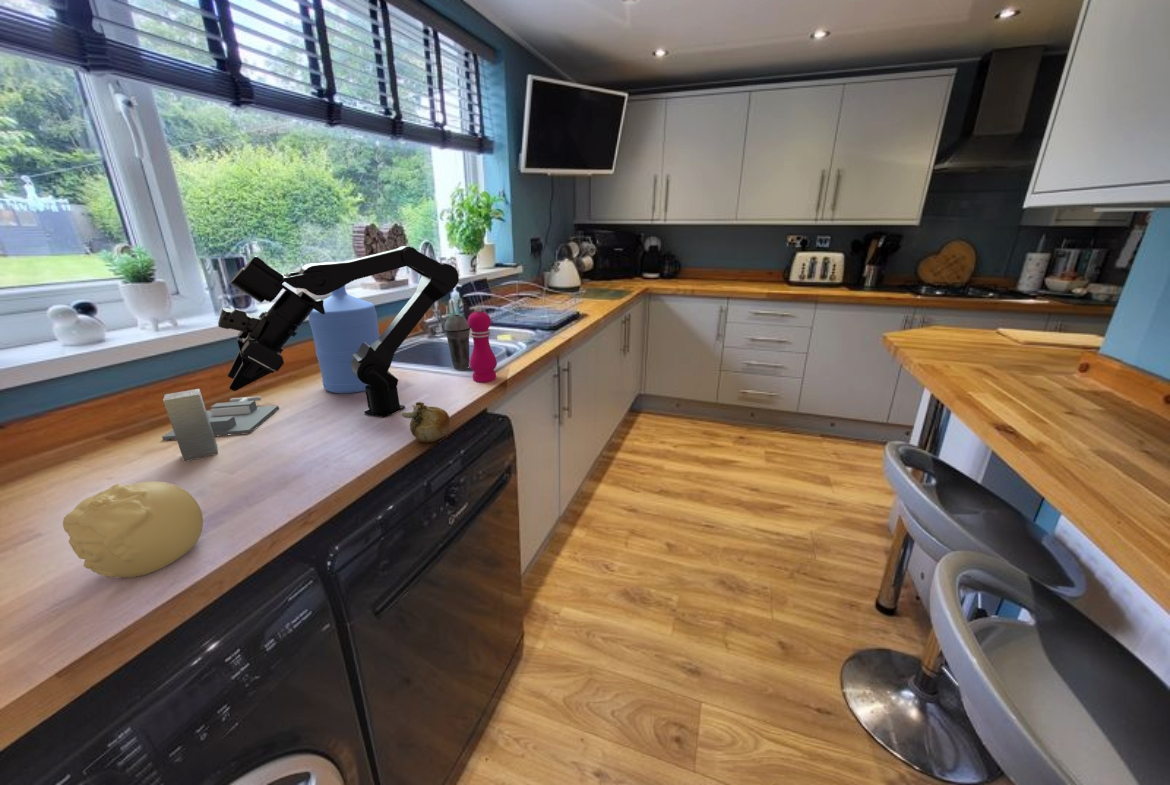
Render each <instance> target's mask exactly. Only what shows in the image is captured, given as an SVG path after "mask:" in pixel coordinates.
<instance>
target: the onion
mask: <svg viewBox="0 0 1170 785" xmlns="http://www.w3.org/2000/svg"><path fill="white" fill-rule="evenodd" d="M412 408H413V410H412V411H401V412H400V415H401V416H400V417H402V418H405V419H411V420H410V422H409V430H410V432H411V434H412V436H413V437H414V438H415V439H416V440H417V441H419V442H422V443H433V442H436V441H438V440H440V439H441V438H443V437H444V436H445V435H446V434H447V432H449V431H448V430H449V429H450V424H451V418H450V415H449V414H448V412H447V411H446V410H445V409H443V408H441V407H437V406H432V405H431V406H427V405H425V402H422V401H418V402H415V405H412Z"/></svg>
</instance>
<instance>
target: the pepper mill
mask: <svg viewBox="0 0 1170 785" xmlns="http://www.w3.org/2000/svg"><path fill="white" fill-rule="evenodd" d="M482 310H483V309H482V307H481V306H480V305H476V306H475V307H474V312H472V313H470V314H469V316H468V317H467V321H468V326H469V327H470V336H471V337H472V340H473V345H472V346H473V347H472V348H473V349H472V352H471V355H470V356H469V368H470V369H471V370H472V371H473V373H472V380H473V381H474V382H475V381H476V383H489V382H492V381H495V380H496V379H497V372H496V371H495V369H496V367H497V365H498V362H497V358H496V355H495V353H494V352H493V350H492V347H491V344H490V340H489V339H490V336H491V333H490V332H491V330H490V327H491V325H492V320H491V316H490V315H489V314H488V313H487V312H484V311H482Z"/></svg>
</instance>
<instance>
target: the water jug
mask: <svg viewBox="0 0 1170 785" xmlns="http://www.w3.org/2000/svg"><path fill="white" fill-rule="evenodd" d="M322 300H323V301H324V303H323V307H324V310H325V314H321V313H320V312H318V311H317V310H315V309H313V310H312V312H311V313H310V314H309V315H308V323H309V326H310V329H311V334H312V338H313V342H314V347H315V355H316V358H317V360H318V364H319V365H318V366H319V369H320V374H321V381H322V385H323V388H324V389H325V390H326V391H328V392H330V393H334V394H351V393H352V394H353V393H361V392H366V388H365V386H367V384H365V383H363V382H361V381H360V380H359V379H358V378H357V376H356V375H355V374H354V373H353V371H352V368H351V362H352V360H353V357H352V355H353V354H355V353H356V352H357V351H358V350H359V348H360V346H361V345H362V343H363V342H365V343H367V344H368V345H371V344H372V343H374V342H375V341H377V340H378V339H379V337H380V330H379V325H378V314H377V311H376V306H375V304H374V303H373V302H370V301H367V300H364V299H362V298H359V297H355V296H353V295H351V294H349V293H348V292H347V291H346V285H345V286H343V287H341V288H339V289H337V290H335V291H333V292H331V295H330V296H328V297H327V298H325V299H322Z"/></svg>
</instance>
